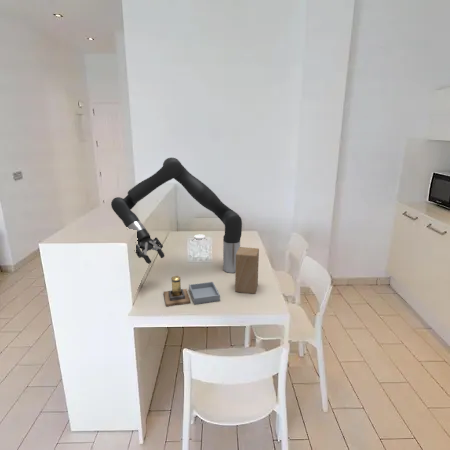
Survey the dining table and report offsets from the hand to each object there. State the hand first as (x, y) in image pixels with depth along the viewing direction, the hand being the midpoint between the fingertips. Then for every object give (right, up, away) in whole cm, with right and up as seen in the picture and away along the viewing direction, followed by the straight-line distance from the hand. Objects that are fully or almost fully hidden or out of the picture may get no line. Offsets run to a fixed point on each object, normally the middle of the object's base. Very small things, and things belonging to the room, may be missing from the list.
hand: (156, 260), depth 159 cm
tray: (+22, -17, +2) cm, 28 cm away
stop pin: (+10, -17, -2) cm, 19 cm away
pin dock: (+10, -18, -1) cm, 20 cm away
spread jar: (+16, -1, +54) cm, 56 cm away
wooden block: (+43, -15, +9) cm, 47 cm away
